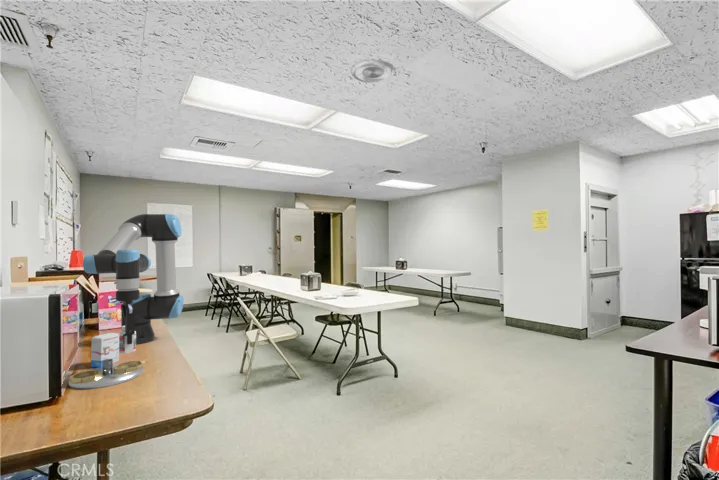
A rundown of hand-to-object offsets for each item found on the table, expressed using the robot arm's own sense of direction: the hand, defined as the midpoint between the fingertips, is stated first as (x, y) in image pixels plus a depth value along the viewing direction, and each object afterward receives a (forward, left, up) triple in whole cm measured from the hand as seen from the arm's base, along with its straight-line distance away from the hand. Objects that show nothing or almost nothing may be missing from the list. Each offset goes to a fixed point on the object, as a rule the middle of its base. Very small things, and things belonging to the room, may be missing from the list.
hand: (127, 350), depth 132 cm
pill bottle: (0, 0, 0) cm, 0 cm away
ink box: (-11, -16, -8) cm, 21 cm away
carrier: (+4, -5, -8) cm, 10 cm away
